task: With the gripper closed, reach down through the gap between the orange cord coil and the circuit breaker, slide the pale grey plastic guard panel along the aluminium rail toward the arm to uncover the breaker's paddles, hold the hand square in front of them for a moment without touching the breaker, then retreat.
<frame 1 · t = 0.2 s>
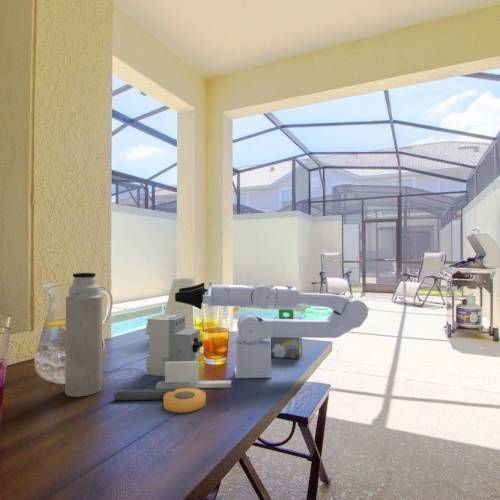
hand: (177, 294, 100), 22 cm above the table, tool horizontal, fingers open, 7 cm apart
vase: (185, 338, 146), on the table
thermos bottle: (83, 391, 89), on the table
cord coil: (184, 403, 80), on the table
grey rounded rod: (145, 399, 83), on the table
chalk box: (286, 355, 120), on the table
rail: (194, 386, 91), on the table
guard panel: (181, 371, 91), point 4 cm above the table, slide at 0.0 cm
circuit breaker: (176, 372, 103), on the table
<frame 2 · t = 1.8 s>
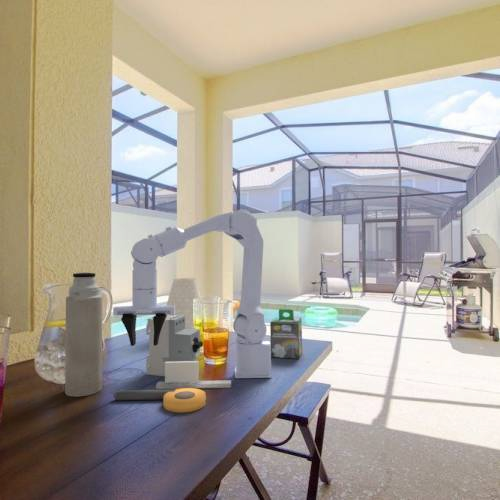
hand: (144, 344, 91), 10 cm above the table, tool pointing down, fingers open, 5 cm apart
nothing on the table moved.
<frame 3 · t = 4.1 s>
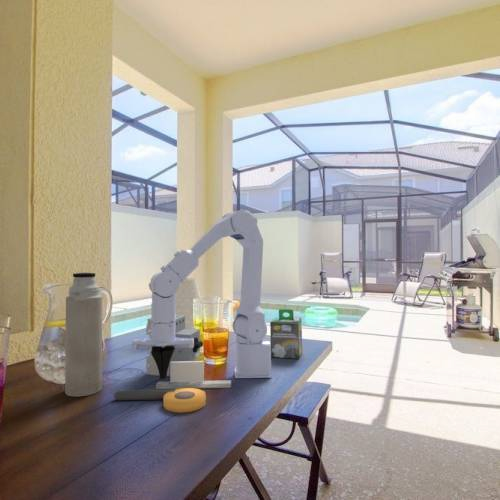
hand: (163, 377, 91), 2 cm above the table, tool pointing down, fingers closed
guard panel: (187, 371, 91), point 4 cm above the table, slide at 1.3 cm, touching gripper
everything else where it was.
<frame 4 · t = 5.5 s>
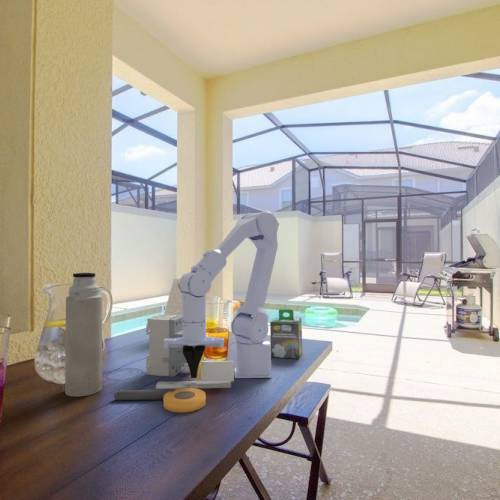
hand: (194, 376, 91), 2 cm above the table, tool pointing down, fingers closed
guard panel: (217, 371, 91), point 4 cm above the table, slide at 8.7 cm, touching gripper
everything else where it was.
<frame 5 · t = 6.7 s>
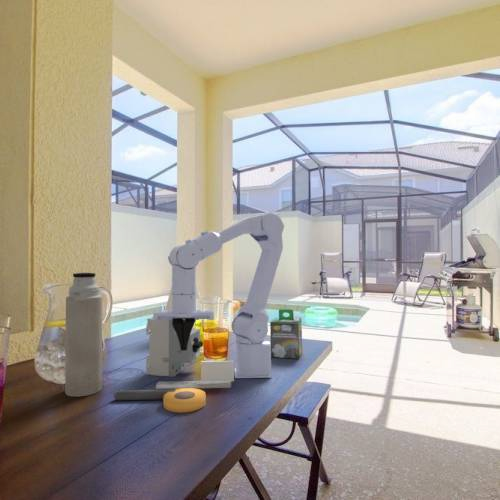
hand: (184, 349, 91), 9 cm above the table, tool pointing down, fingers closed
guard panel: (217, 371, 91), point 4 cm above the table, slide at 8.7 cm
everything else where it was.
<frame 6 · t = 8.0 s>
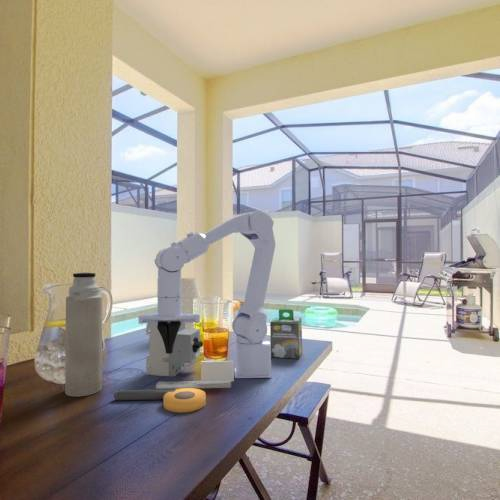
hand: (169, 352, 91), 8 cm above the table, tool pointing down, fingers closed
nothing on the table moved.
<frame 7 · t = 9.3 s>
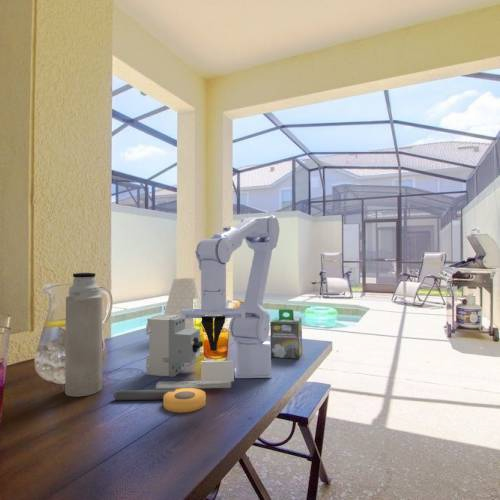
hand: (213, 349, 85), 10 cm above the table, tool pointing down, fingers closed
nothing on the table moved.
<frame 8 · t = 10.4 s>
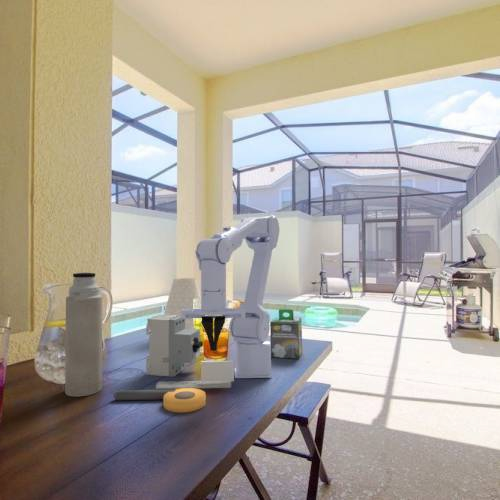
hand: (213, 349, 85), 10 cm above the table, tool pointing down, fingers closed
nothing on the table moved.
at the end: guard panel slide at 8.7 cm; circuit breaker moved 0.2 cm from its start; the gripper is holding nothing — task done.
